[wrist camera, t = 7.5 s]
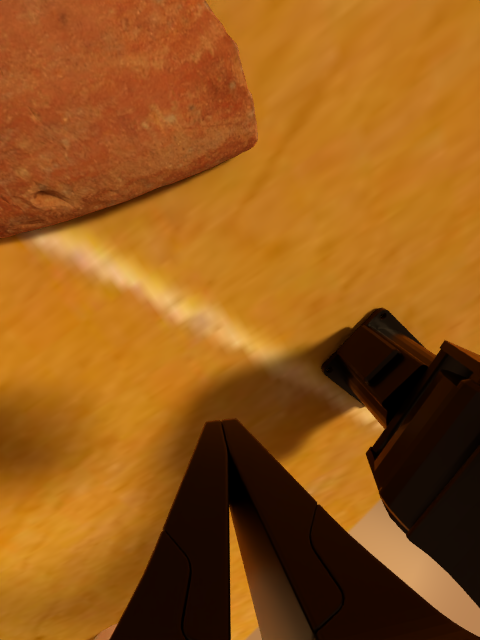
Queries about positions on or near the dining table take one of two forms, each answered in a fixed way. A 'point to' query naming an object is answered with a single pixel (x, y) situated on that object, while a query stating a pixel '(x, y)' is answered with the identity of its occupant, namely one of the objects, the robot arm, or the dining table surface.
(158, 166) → the ceramic shard
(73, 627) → the dining table surface
